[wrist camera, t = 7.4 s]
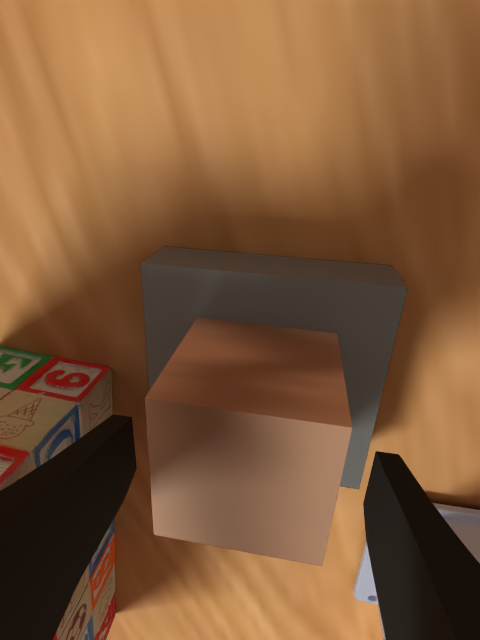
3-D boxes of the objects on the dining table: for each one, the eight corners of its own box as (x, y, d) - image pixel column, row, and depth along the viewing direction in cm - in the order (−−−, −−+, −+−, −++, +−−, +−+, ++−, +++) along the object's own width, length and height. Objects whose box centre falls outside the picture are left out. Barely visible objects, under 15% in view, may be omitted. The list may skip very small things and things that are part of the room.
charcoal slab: (389, 262, 15) (407, 287, 12) (351, 439, 19) (358, 489, 16) (168, 243, 16) (140, 263, 13) (174, 415, 20) (153, 457, 17)
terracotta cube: (337, 332, 13) (352, 427, 9) (318, 443, 15) (322, 566, 11) (197, 317, 14) (144, 397, 9) (197, 425, 16) (153, 534, 11)
